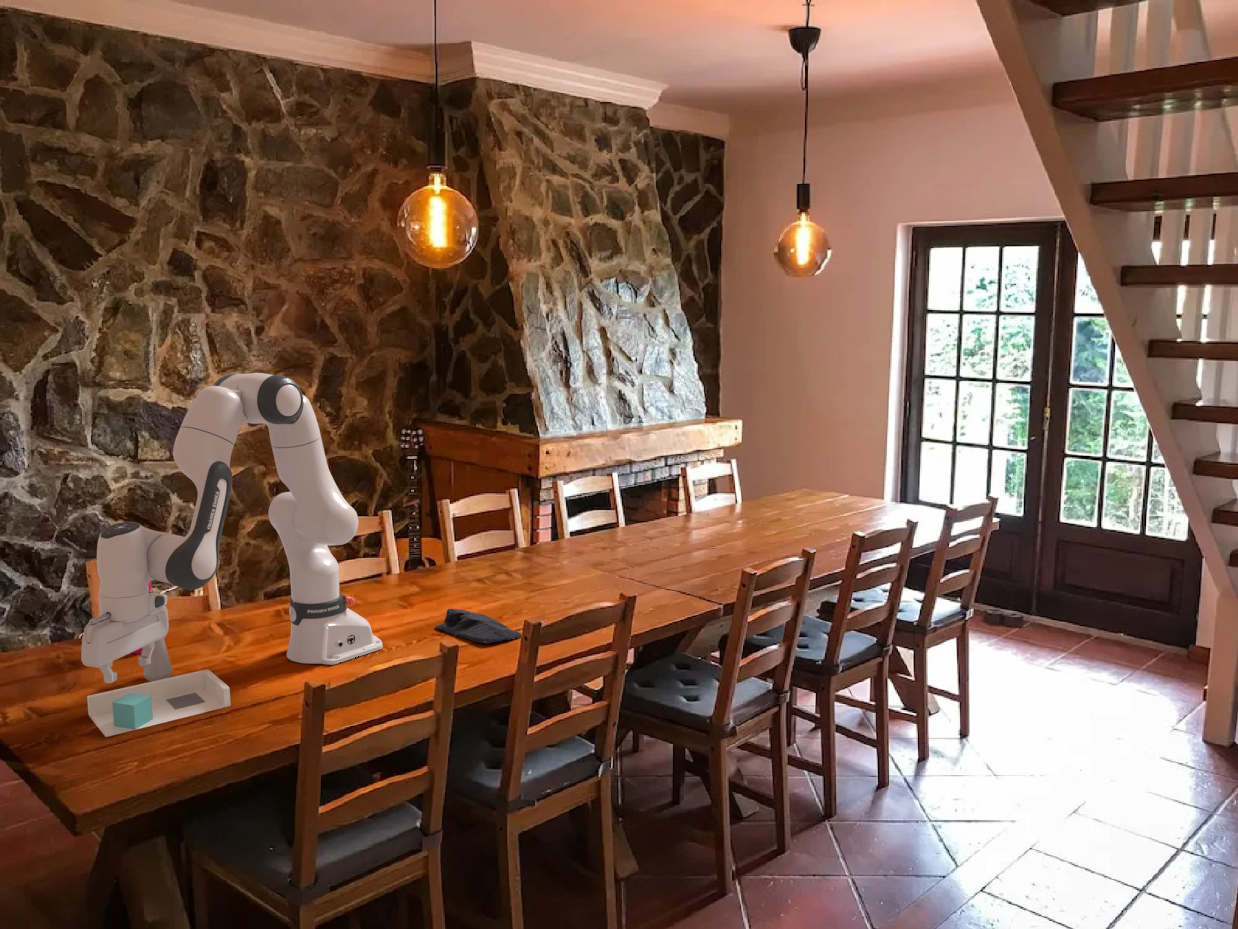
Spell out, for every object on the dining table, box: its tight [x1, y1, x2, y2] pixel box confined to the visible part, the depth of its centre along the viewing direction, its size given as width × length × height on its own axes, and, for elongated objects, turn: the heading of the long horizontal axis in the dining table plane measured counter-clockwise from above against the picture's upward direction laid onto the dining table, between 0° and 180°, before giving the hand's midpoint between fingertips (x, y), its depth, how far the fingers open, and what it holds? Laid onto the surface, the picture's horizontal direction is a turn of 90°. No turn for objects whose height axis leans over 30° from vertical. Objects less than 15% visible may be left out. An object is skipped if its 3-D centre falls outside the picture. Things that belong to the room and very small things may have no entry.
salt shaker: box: [142, 637, 173, 682], centre depth 226 cm, size 6×6×13 cm
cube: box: [112, 693, 153, 730], centre depth 204 cm, size 5×5×5 cm
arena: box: [86, 669, 231, 738], centre depth 210 cm, size 24×13×5 cm, turn 130°
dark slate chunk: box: [435, 608, 522, 645], centre depth 263 cm, size 15×22×5 cm
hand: (128, 673), depth 202 cm, fingers open, 8 cm apart
